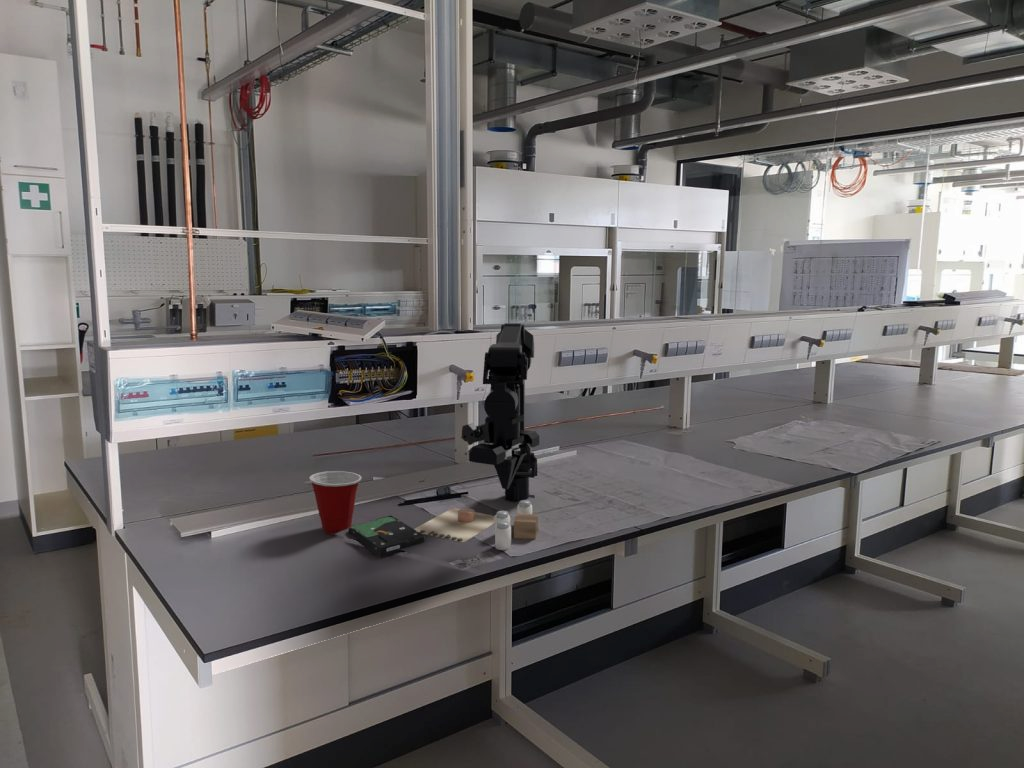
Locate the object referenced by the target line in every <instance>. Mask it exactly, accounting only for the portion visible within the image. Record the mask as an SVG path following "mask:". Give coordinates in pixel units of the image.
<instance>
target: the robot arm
mask: <svg viewBox="0 0 1024 768" xmlns="http://www.w3.org/2000/svg"><path fill="white" fill-rule="evenodd" d="M500 326H501V327H500V331H499V332H498V333H497V334H496V338H495V339H496V340H495V343H494V344H493V343H492V344H490V346H489V347H488V351H486V352H485V353H484V361H483V362H484V363H483V373H482V374H483V375H482V385H490V389H489V393H488V395H487V396H486V398H485V400H484V403H483V409H484V411H485V413H486V415H487V416H486V417H485V419H484V423H483V424H482V423H481V424H479V425H475V423H473V422H470V423H468V424H465V425H462V426H461V427H462V428H461V437H460V438H461V439H462V440H463V442H466V443H467V446H471V448H470V449H469V450H468V451H467V452H468V454H467V456H468V457H467V460H468V462H470V463H476V464H484V465H490V466H493V467H494V469H495V471H496V474H497V477H498V480H499V482H500V483H499V484H500V486H501V488H502V489H503V490H504V501H506V502H512V503H516V502H519V501H521V500H528V499H529V498H530V499H531V498H532V499H534V498H535V496H536V495H534V494H531V493H530V478H532V479H534V478H535V477H538V458H537V457H536V455H535V452H533V449H532V448H535V447H538V446H539V445H540V435H539V433H538V432H537V431H536V430H528V429H526V409H525V408H526V395H525V394H526V391H525V390H526V385H525V383H526V380H527V379H528V370H529V369H530V367H531V365H532V359H534V358H535V340H534V338H535V337H534V335H533V333H531V332H529V331H528V330H527V329H526V328H525V324H522V323H518V322H517V323H504V324H501V325H500ZM482 441H483V442H482ZM479 442H481V443H479ZM474 443H475V444H476V443H478V444H477V445H473V444H474ZM472 445H473V446H472Z"/></svg>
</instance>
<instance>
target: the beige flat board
mask: <svg viewBox="0 0 1024 768" xmlns="http://www.w3.org/2000/svg"><path fill="white" fill-rule="evenodd" d="M460 509H461V508H455V507H452V508H450V509H448V510H446V511H444V512H443V513H441V514H439V515H437V516H436V517H433V518H432V519H429V520H428V521H426V522H424V523H423V524H421V525H419V526H417V527H415V528H413V529H414V530H416V531H418V532H420V533H421V534H423V535H428V536H431V537H435V538H441V539H445V540H449V541H455V542H458V543H462V544H464V543H465V542H467V541H468V540H471V539H472V538H474V537H475V536H476V535H479V534H480V533H481V532H483V531H484V530H486V529H487V528H490V527H491V526H492V525H495V515H491V514H487V513H481V512H476V511H474V521H473V522H469V523H462V522H459V521H458V510H460Z"/></svg>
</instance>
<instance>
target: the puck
mask: <svg viewBox="0 0 1024 768" xmlns="http://www.w3.org/2000/svg"><path fill="white" fill-rule="evenodd" d="M459 509H460V510H458V521H459V522H462V523H469V522H473V521H474V512H475V510H474V509H473V508H468V507H466V508H459Z"/></svg>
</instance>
